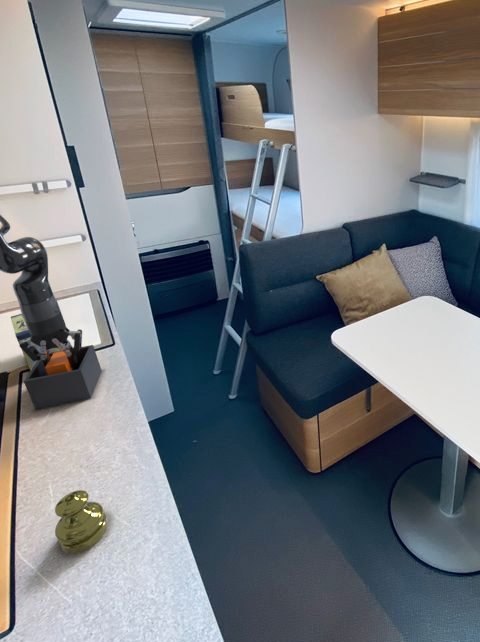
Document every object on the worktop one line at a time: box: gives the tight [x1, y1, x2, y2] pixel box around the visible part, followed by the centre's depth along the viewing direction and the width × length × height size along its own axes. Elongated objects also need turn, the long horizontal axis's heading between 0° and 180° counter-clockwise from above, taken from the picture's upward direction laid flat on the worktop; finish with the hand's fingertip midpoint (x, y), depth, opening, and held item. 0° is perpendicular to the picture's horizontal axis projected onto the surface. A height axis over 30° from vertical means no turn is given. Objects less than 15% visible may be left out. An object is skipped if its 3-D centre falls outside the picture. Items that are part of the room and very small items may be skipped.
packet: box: [45, 351, 74, 375], centre depth 112 cm, size 7×4×4 cm, turn 20°
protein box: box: [10, 313, 61, 372], centre depth 125 cm, size 10×16×16 cm
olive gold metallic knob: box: [54, 489, 109, 555], centre depth 75 cm, size 7×7×10 cm
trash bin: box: [23, 344, 103, 411], centre depth 113 cm, size 13×13×10 cm
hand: (62, 367), depth 112 cm, fingers closed on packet, 4 cm apart
